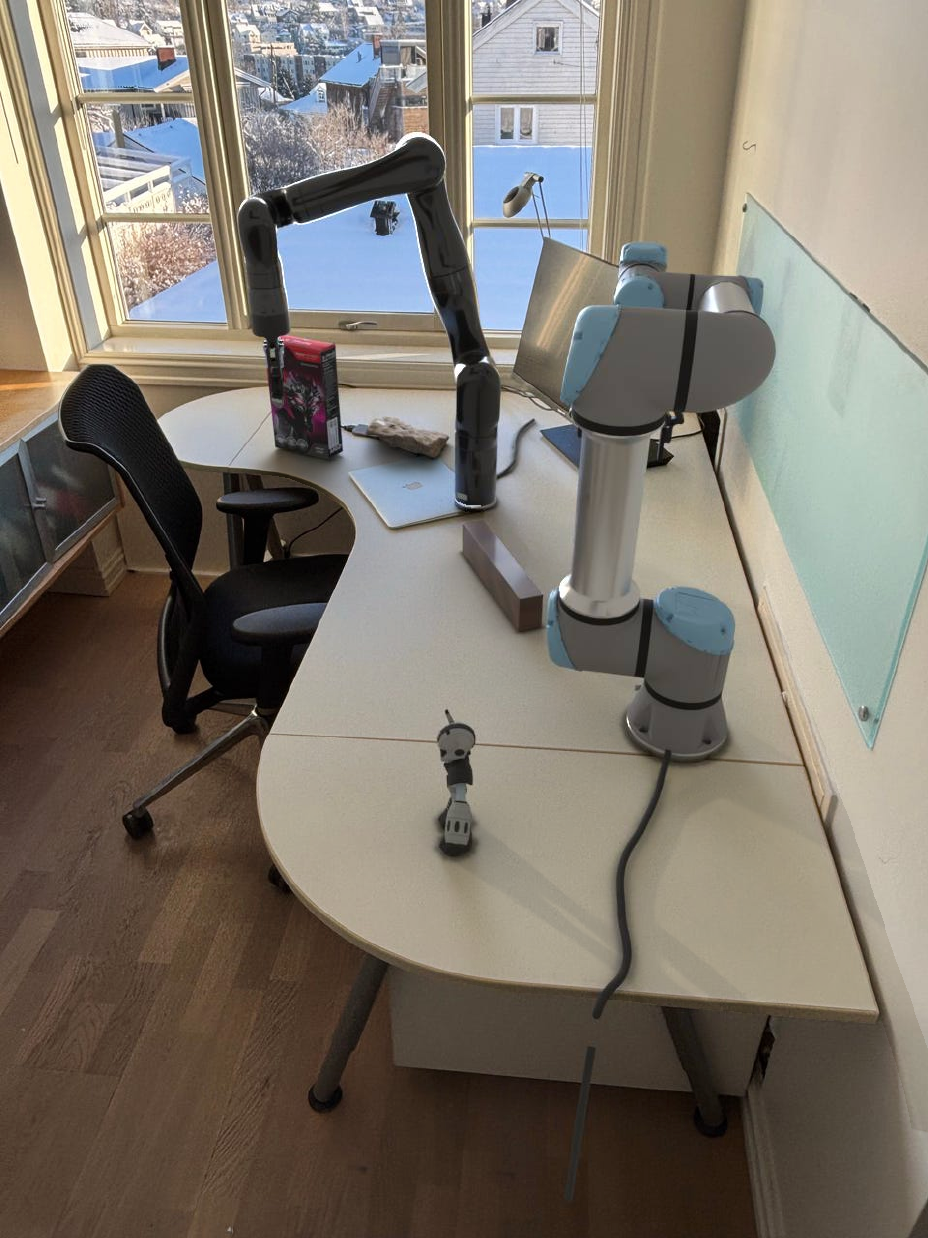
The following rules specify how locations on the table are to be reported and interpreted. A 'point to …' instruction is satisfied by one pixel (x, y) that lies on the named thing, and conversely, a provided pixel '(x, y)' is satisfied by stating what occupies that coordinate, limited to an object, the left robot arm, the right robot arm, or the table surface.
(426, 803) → the table surface
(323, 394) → the graphics card box
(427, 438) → the stone
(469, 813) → the robot
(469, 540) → the beam
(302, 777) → the table surface
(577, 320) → the right robot arm
